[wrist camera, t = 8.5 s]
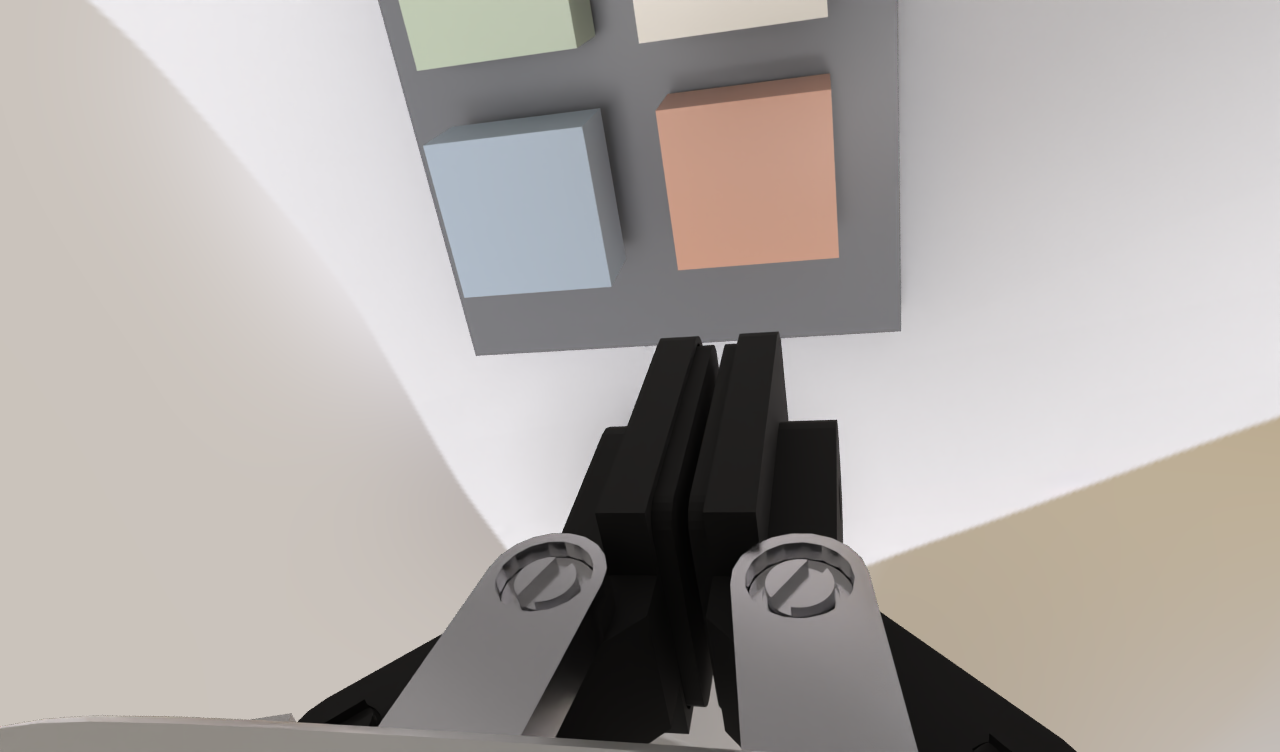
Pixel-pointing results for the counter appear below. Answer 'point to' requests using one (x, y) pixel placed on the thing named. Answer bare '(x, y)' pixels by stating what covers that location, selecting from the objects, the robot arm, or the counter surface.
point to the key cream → (717, 16)
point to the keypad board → (628, 98)
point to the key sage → (492, 29)
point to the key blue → (528, 204)
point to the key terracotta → (751, 172)
